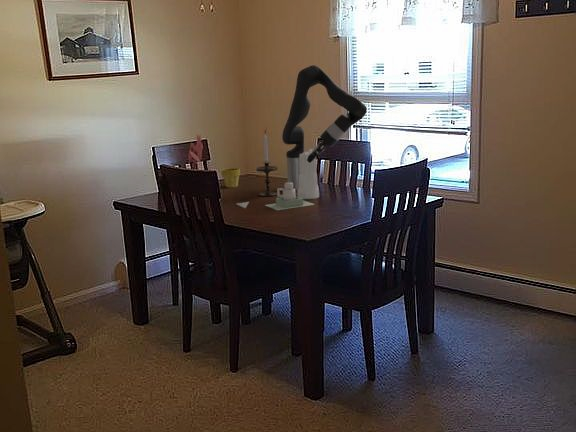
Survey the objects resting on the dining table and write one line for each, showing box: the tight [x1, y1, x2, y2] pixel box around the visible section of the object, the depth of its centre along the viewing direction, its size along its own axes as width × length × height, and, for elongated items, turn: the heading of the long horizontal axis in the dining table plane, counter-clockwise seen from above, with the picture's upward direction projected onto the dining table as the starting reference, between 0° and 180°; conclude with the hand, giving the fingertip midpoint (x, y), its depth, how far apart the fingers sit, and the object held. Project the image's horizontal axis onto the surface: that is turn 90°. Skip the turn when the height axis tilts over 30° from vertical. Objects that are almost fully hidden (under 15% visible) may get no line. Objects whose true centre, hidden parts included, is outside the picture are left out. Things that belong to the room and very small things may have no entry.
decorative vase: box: [296, 148, 320, 200], centre depth 338 cm, size 11×11×25 cm
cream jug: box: [276, 181, 297, 201], centre depth 323 cm, size 9×6×10 cm
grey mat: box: [236, 201, 250, 209], centre depth 331 cm, size 13×11×1 cm
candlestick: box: [256, 128, 278, 198], centre depth 349 cm, size 11×11×35 cm
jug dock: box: [264, 196, 316, 211], centre depth 324 cm, size 20×14×4 cm
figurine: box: [187, 133, 204, 171], centre depth 331 cm, size 15×26×35 cm, turn 13°
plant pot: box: [220, 167, 241, 188], centre depth 381 cm, size 10×10×10 cm
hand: (308, 160), depth 319 cm, fingers open, 8 cm apart
